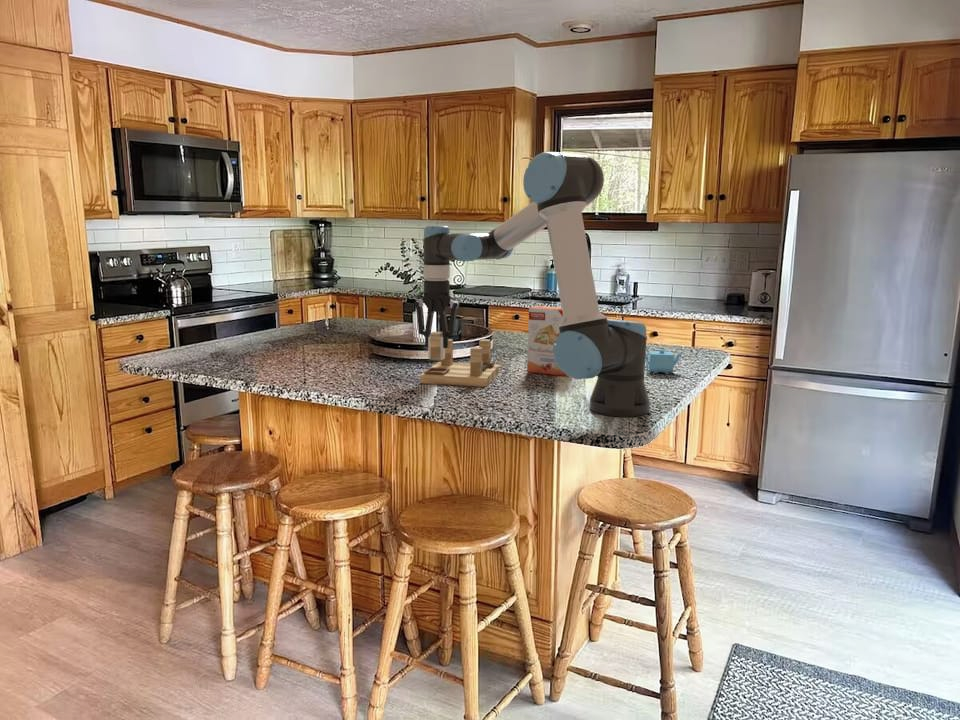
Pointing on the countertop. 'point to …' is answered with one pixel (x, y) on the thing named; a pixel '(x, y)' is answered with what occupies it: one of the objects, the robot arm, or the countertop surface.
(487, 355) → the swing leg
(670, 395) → the countertop surface
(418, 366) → the countertop surface
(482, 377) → the seat
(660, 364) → the teapot
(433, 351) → the loose leg
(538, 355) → the cracker box
